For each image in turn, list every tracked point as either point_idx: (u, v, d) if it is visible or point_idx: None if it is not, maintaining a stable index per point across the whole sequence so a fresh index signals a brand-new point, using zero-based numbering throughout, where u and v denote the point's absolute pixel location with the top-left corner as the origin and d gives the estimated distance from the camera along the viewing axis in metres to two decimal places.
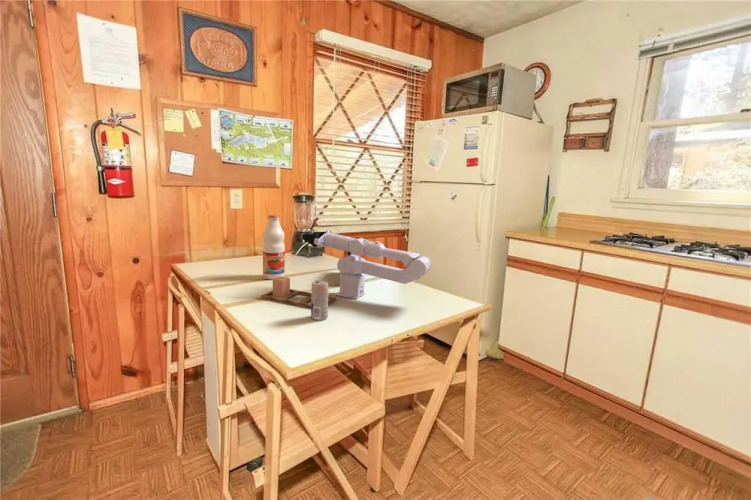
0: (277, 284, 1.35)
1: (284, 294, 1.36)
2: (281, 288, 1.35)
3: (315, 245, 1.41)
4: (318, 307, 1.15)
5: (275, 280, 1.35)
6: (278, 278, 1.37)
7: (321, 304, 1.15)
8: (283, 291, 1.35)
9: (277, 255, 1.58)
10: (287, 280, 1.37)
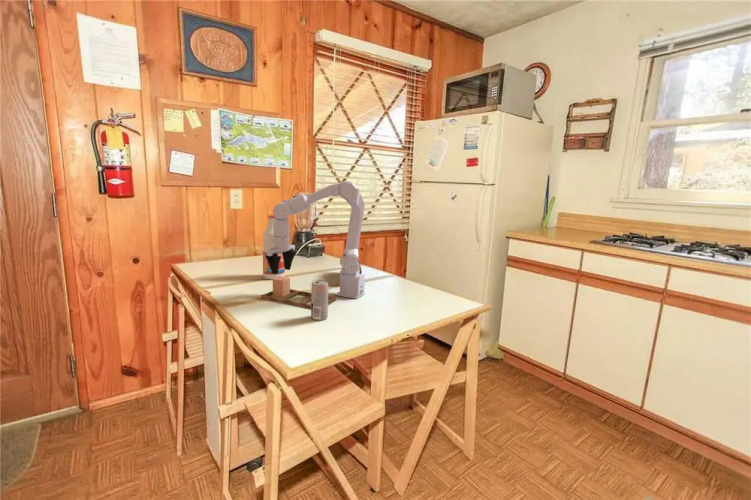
0: (277, 284, 1.35)
1: (284, 294, 1.36)
2: (281, 288, 1.35)
3: (277, 256, 1.30)
4: (318, 307, 1.15)
5: (275, 280, 1.35)
6: (278, 278, 1.37)
7: (321, 304, 1.15)
8: (283, 291, 1.35)
9: (277, 255, 1.58)
10: (287, 280, 1.37)
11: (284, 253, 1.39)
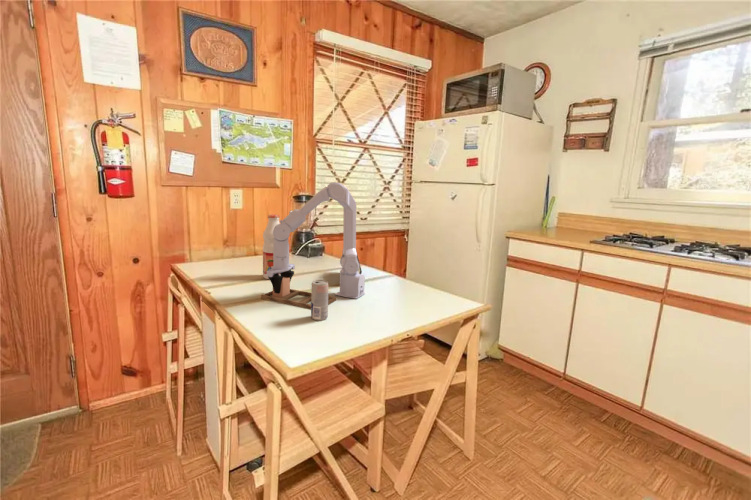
0: None
1: (284, 294, 1.36)
2: (281, 288, 1.35)
3: (279, 276, 1.32)
4: (318, 307, 1.15)
5: None
6: None
7: (321, 304, 1.15)
8: (283, 290, 1.35)
9: None
10: (287, 280, 1.37)
11: (282, 273, 1.39)
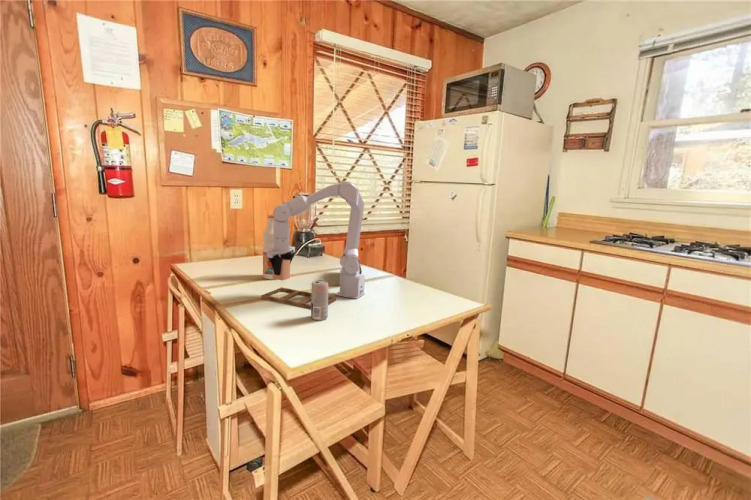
0: None
1: (284, 276, 1.35)
2: (281, 270, 1.34)
3: (279, 258, 1.31)
4: (318, 307, 1.15)
5: None
6: None
7: (321, 304, 1.15)
8: (283, 272, 1.34)
9: None
10: (287, 262, 1.36)
11: (282, 255, 1.38)
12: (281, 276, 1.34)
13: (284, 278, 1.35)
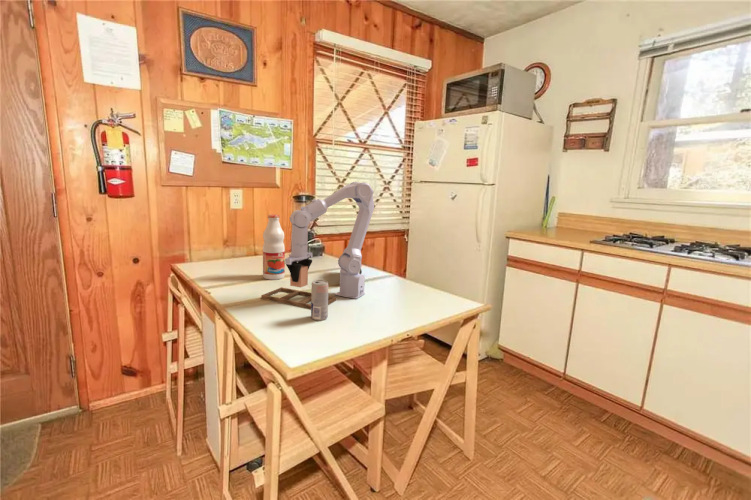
0: None
1: (302, 283, 1.32)
2: (299, 276, 1.31)
3: (297, 264, 1.28)
4: (318, 307, 1.15)
5: None
6: None
7: (321, 304, 1.15)
8: (301, 279, 1.31)
9: (277, 255, 1.58)
10: (305, 268, 1.33)
11: (300, 262, 1.35)
12: (299, 283, 1.31)
13: (302, 285, 1.32)
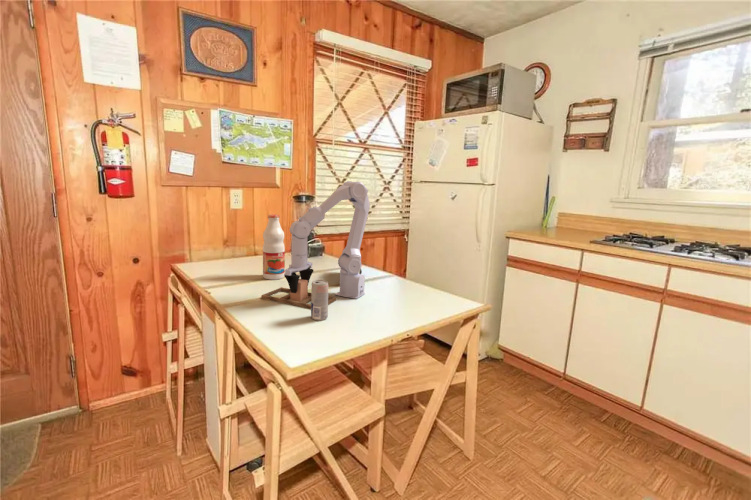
0: None
1: (302, 297, 1.33)
2: (299, 291, 1.32)
3: (296, 275, 1.28)
4: (318, 307, 1.15)
5: None
6: None
7: (321, 304, 1.15)
8: (301, 293, 1.32)
9: (277, 255, 1.58)
10: (305, 282, 1.34)
11: (301, 271, 1.37)
12: (299, 297, 1.32)
13: (302, 299, 1.33)
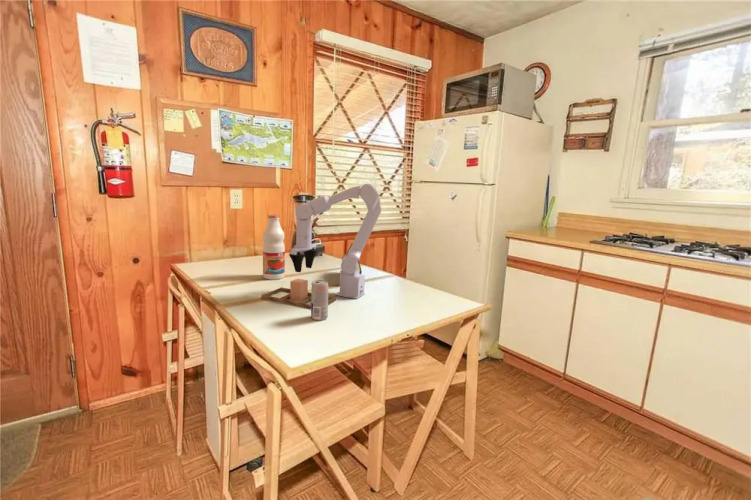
0: (295, 286, 1.32)
1: (302, 297, 1.33)
2: (299, 291, 1.32)
3: (300, 255, 1.35)
4: (318, 307, 1.15)
5: (293, 282, 1.32)
6: (296, 280, 1.34)
7: (321, 304, 1.15)
8: (301, 293, 1.32)
9: (277, 255, 1.58)
10: (305, 282, 1.34)
11: (306, 252, 1.44)
12: (299, 297, 1.32)
13: (302, 299, 1.33)
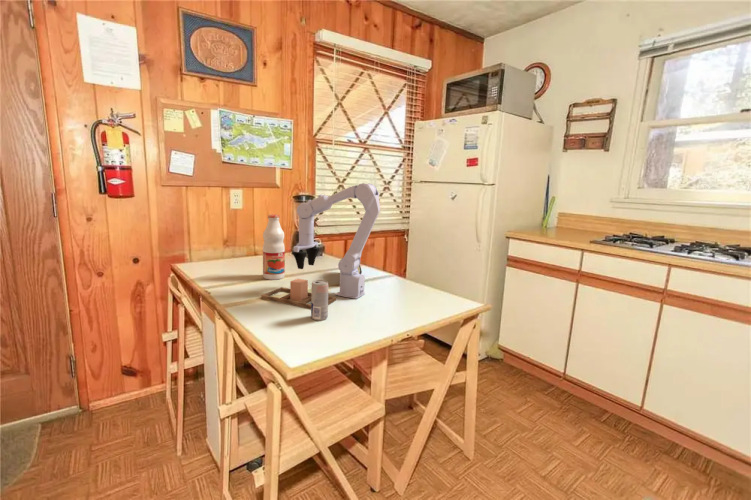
0: (295, 286, 1.32)
1: (302, 297, 1.33)
2: (299, 291, 1.32)
3: (303, 252, 1.40)
4: (318, 307, 1.15)
5: (293, 282, 1.32)
6: (296, 280, 1.34)
7: (321, 304, 1.15)
8: (301, 293, 1.32)
9: (277, 255, 1.58)
10: (305, 282, 1.34)
11: (308, 250, 1.49)
12: (299, 297, 1.32)
13: (302, 299, 1.33)
